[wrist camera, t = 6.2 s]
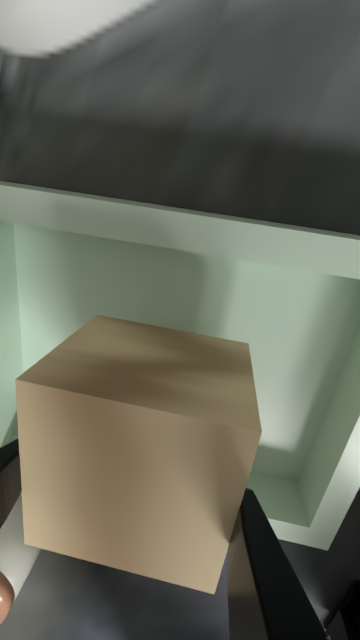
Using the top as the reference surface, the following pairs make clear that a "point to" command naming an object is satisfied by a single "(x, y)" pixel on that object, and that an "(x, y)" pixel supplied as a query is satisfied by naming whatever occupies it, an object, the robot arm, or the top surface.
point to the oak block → (138, 448)
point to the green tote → (203, 323)
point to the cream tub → (14, 558)
